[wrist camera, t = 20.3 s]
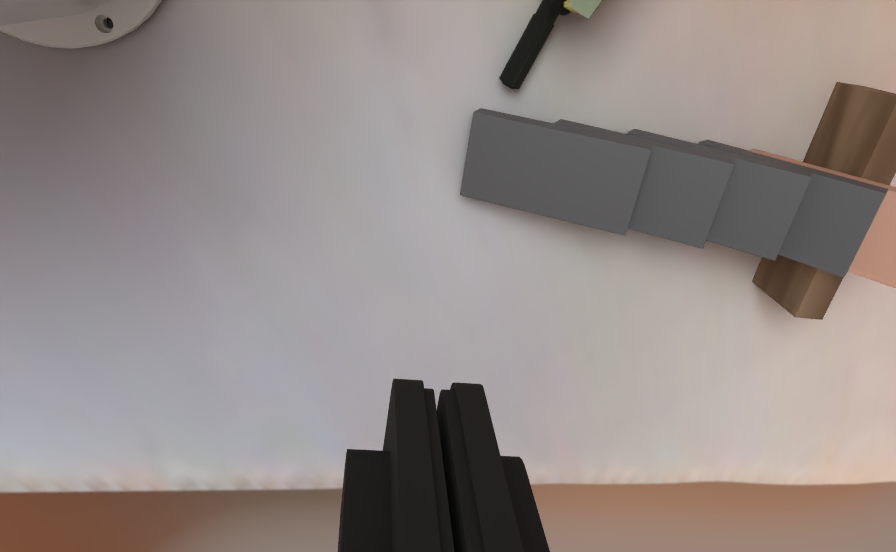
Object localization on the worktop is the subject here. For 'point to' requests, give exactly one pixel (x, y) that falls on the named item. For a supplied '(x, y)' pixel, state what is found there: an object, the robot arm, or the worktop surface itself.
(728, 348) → the worktop surface
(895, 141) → the bar
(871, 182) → the domino
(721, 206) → the domino
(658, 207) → the domino
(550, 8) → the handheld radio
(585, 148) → the domino
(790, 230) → the domino
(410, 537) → the robot arm
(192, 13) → the worktop surface
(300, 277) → the worktop surface
